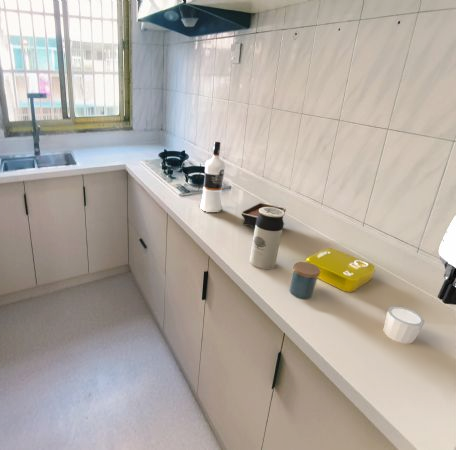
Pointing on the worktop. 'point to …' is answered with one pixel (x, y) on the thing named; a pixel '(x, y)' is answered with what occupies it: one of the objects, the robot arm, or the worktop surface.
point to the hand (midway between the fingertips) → (449, 301)
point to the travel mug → (267, 237)
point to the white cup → (402, 324)
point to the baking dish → (256, 213)
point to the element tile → (341, 269)
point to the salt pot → (304, 280)
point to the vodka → (213, 182)
